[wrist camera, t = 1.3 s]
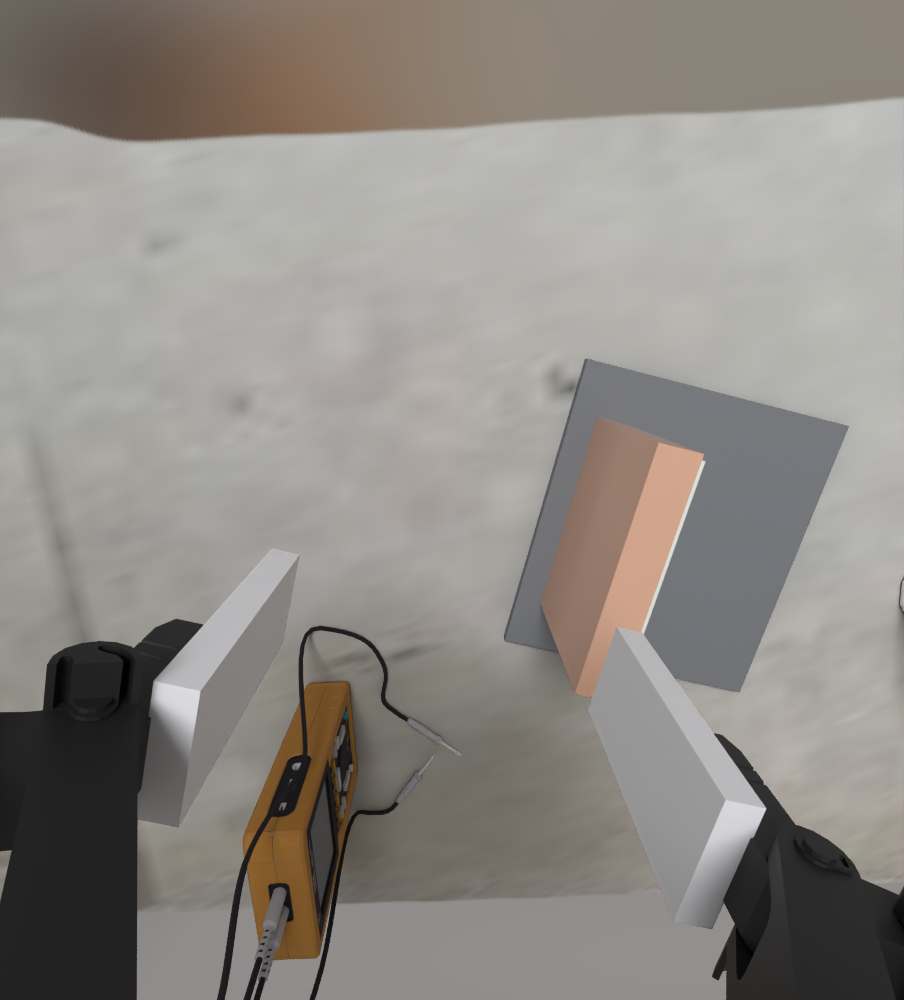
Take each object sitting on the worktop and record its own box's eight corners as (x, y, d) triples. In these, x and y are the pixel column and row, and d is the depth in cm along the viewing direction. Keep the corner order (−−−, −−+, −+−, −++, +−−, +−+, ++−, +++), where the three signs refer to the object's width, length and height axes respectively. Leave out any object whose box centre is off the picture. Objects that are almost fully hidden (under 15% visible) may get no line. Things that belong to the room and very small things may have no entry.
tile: (540, 603, 36) (574, 693, 27) (597, 417, 34) (658, 442, 24) (575, 611, 37) (622, 704, 27) (634, 426, 34) (711, 455, 24)
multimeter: (465, 809, 41) (483, 1220, 22) (324, 816, 41) (215, 1232, 22) (456, 618, 37) (467, 904, 18) (301, 625, 37) (145, 920, 18)
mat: (503, 636, 38) (504, 640, 37) (585, 359, 33) (587, 359, 33) (735, 687, 39) (739, 692, 38) (841, 425, 34) (848, 426, 34)
